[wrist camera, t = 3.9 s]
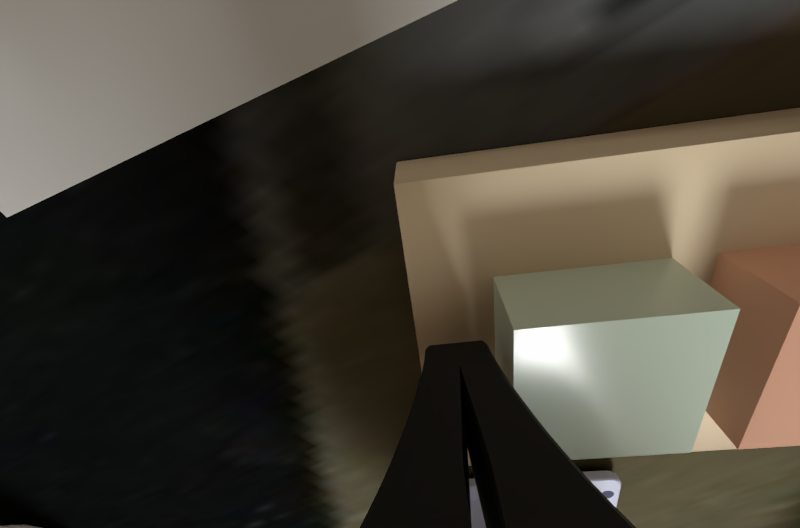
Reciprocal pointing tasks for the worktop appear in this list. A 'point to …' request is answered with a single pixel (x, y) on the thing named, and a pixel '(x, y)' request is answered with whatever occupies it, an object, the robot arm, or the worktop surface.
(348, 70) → the worktop surface
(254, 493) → the worktop surface
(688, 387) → the sage tile
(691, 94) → the worktop surface
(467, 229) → the wooden board
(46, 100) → the kitchen cleaver
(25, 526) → the white cup
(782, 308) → the terracotta tile
